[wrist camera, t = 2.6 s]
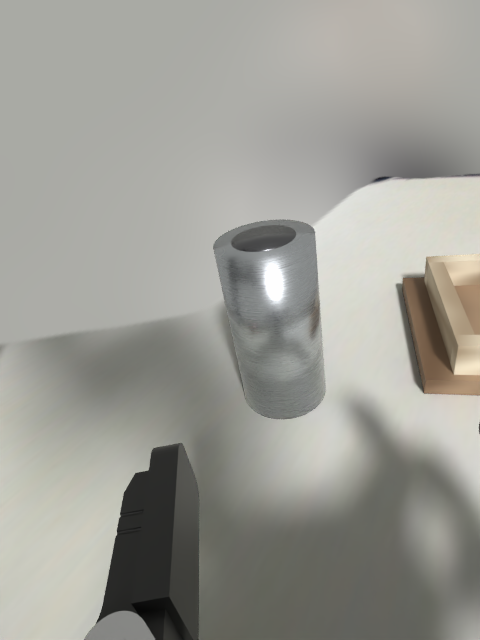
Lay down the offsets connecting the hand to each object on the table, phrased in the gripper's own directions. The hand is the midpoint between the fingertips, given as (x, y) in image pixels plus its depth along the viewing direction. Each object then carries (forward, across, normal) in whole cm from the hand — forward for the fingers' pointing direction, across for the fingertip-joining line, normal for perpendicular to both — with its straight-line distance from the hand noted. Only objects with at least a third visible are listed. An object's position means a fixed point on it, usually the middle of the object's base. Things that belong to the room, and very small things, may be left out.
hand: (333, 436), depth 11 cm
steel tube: (+12, 0, +8) cm, 14 cm away
